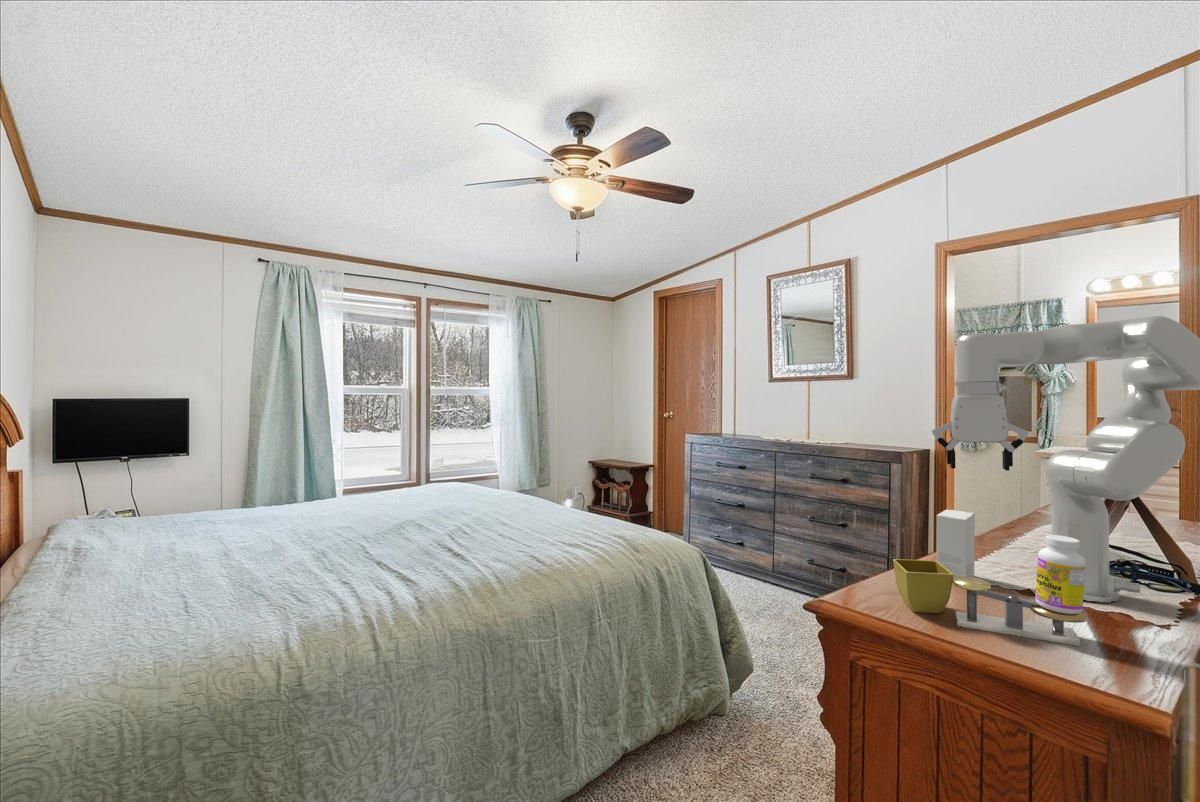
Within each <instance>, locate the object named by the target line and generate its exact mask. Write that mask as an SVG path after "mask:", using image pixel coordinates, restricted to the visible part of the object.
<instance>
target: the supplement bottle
mask: <svg viewBox="0 0 1200 802" xmlns="http://www.w3.org/2000/svg"><path fill="white" fill-rule="evenodd" d="M1045 545H1046V547H1044V548H1041V549H1040V550H1039V551H1038V553H1037V566H1036V583H1035V597H1034V598H1035V599H1034V601H1036V603H1037V604H1038V605H1040V606H1042V607H1044V608H1046V609H1048V610H1051V611H1055V612H1059V613H1064V614H1079V613H1081V612H1082V610H1083V609H1084V608H1083V607H1084V601H1083V597H1084V582H1085V567H1086V561H1085V559H1084V557H1083V556H1081V555H1080V554H1078V549H1079V548H1080V541H1079V540H1077V539H1074V538H1071V537H1066V536H1060V535H1052V534H1048V535H1046V536H1045ZM1083 611H1084V610H1083Z"/></svg>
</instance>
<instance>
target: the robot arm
mask: <svg viewBox="0 0 1200 802" xmlns="http://www.w3.org/2000/svg"><path fill="white" fill-rule="evenodd" d="M1124 359H1125V360H1126V359H1129V360H1127V361H1126V363H1125V364H1124V366H1123V368H1122V371H1121V372H1122V373H1121V375H1122V376H1121V378H1122V383H1123V388H1124V389H1123V390H1124V399H1123V400H1122V402H1121V403H1120V404H1119V405H1118V407H1117V408H1116V409H1115V410H1113V411H1112V412H1111V413H1110V414H1109V415H1108V416H1106V417H1105V418H1104V419H1103V420H1102V421H1100V422H1099V423H1098V424H1097V425H1096V426H1095V427H1094V428H1093V429H1092V430H1091V431H1090V432H1089V433H1088V434H1087V437H1086V440H1085V447H1086V449H1087V450H1083V449H1064V450H1060V451H1056V453H1054V454H1052V455H1051V456H1050V457H1049V458H1048V460H1047V461H1046V464H1045V478H1046V482H1047V485H1048V488H1049V494H1050V502H1051V503H1050V504H1051V535H1060V536H1066V537H1071V538H1074V539H1077V540H1079V541H1080V548H1079V549H1078V554H1080V555H1081V556H1083V557H1084V559H1085V561H1086V567H1085V582H1084V597H1083V600H1087V601H1086V602H1090V601H1101V602H1100V603H1112V602H1111V601H1115V602H1118V601H1119V600H1120V592H1121V591H1125V592H1126V591H1127V592H1131V593H1138V594H1139V593H1141V584H1139V583H1138V582H1137V583H1136V582H1129V581H1128V580H1127V579H1116V578H1114V577H1113V576H1112V575H1111V574H1110V515H1109V512H1108V508H1107V507H1106V504H1105V502H1104V500H1103V499H1107V500H1112V501H1124V502H1125V501H1126V502H1127V501H1131V500H1133V499H1136V498H1138V497H1139V496H1141V495H1143V494H1144V493H1145V492H1147V491H1148V490H1149V489H1150V488H1151V487H1152V486H1154V485H1155V484H1156V483H1157V482H1158V481H1160V480H1161V479H1162V478H1163V477H1164V476H1165V475H1166V474H1167V473H1168V472H1169V471H1171V469H1173V468H1174V467H1175V466H1176V465H1177V464H1178V463H1179V462H1180V461H1181V459H1182V457H1183V455H1184V452H1185V449H1186V439H1185V436H1184V434H1183V432H1182V430H1180V429H1179V428H1178V427H1177V426H1176V425H1174V424H1171V423H1170V420H1171V419H1172V410H1171V408H1170V405H1169V404H1168V401H1167V399H1166V395H1165V392H1164V391H1198V390H1200V337H1199V336H1197V335H1196V334H1195V333H1194V332H1192V331H1191V330H1190V329H1189V328H1187V327H1186V326H1184V325H1182V324H1181V323H1180V322H1178V321H1177V320H1174V319H1172V318H1169V317H1167V316H1162V315H1153V316H1146V317H1138V318H1131V319H1130V318H1129V319H1122V320H1114V321H1113V320H1112V321H1111V320H1110V321H1103V322H1102V321H1101V322H1092V323H1091V322H1090V323H1080V324H1078V323H1077V324H1065V325H1059V326H1053V327H1049V328H1044V329H1039V330H1032V331H1027V330H1026V331H1024V330H1022V331H1021V330H1018V331H1011V332H1003V333H996V334H995V333H989V332H981V333H979V332H977V333H968V334H963V335H961V336H959V337H958V338H957V340H956V379H957V381H956V391H957V392H956V396H953V398H952V401H951V407H950V419H949V422H948V423H946V424H944V425H941V426H939V427H936V428H934V429H932V430H931V432H932V435H933V436H934V438H935V440H936V442H938V444H940V445H941V446H942V447H943V448H944V449H945V450H946V464H947V465H949V467H950V468H951V470H952V469H956V466H957V465H956V450H955V449H954V448H955V447H956V446H957V445H958V444H959V443H980V444H981V443H984V444H987V443H990V444H991V443H993V444H995V443H998V444H999V445H1001V446H1002V448H1003V450H1002V458H1001V459H1002V469H1003V470H1004V471H1006V472H1007V471H1009V472H1010V467H1013V465H1014V463H1013V462H1014V461H1013V459H1014V458H1013V457H1014V456H1013V453H1014V452H1015V450H1017V449H1018V448H1019V447H1020V446H1021V445H1023V443H1024V441H1026V439H1027V437H1028V435H1029V431H1028V430H1026V429H1023V428H1021V427H1019V426H1016V425H1014V424H1012V423H1009V422H1008V418H1007V417H1008V416H1007V408H1006V403H1005V400H1004V397H1003V396H1000V394H1001V393H1002V392H1004V391H1005V392H1006V391H1008V388H1009V387H1008V384H1003V383H1001V381H1000V368H1012V367H1014V368H1015V367H1025V366H1029V365H1031V366H1032V365H1066V364H1078V363H1080V364H1081V363H1091V362H1101V361H1113V360H1124ZM947 431H949V434H950V435H949V436H950V438H951V439H950V440H949V441H947V440H945V439H944V437H943V436H942V433H944V432H947ZM1009 431H1011V432H1013V433H1016V434H1017V436H1016V437H1015V438H1014V440H1012V442H1009V441H1008V438H1009ZM1118 599H1119V600H1118Z"/></svg>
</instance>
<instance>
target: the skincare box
mask: <svg viewBox="0 0 1200 802" xmlns="http://www.w3.org/2000/svg"><path fill="white" fill-rule="evenodd" d="M975 515H976V514H975V512H969V511H961V510H955V509H948V508H947V509H945V510H942V511H941V512H939V513H938V514H936V561H937V562H939V563H940V564H941V565H943V566H944V567H945V568H946V569H948V570H949V571H950V572H952V573H953V578H955V577H973V578H974V576H975V528H976V527H975V522H976V520H975V517H976V516H975Z"/></svg>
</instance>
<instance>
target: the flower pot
mask: <svg viewBox="0 0 1200 802" xmlns="http://www.w3.org/2000/svg"><path fill="white" fill-rule="evenodd" d="M892 560H893V563H892V564H893V569H894V577H895V585H896V587H897V590H898V592H899V595H900V596H901V598H902V600H903V603H905V604H906V606H907V607H908V608H909V609H910V610H911V612H914V613H925V614H926V613H927V614H928V613H929V614H941V612H943V611H944V609H945V608H946V606H947V605H948V603H949V601H950V598H951V593H952V586H953V573H952V572H950V571H949V570H948V569H946V568H945V567H944V566H943V565H941V564H940V563H939V562H937V560H930V559H929V560H927V559H924V560H923V559H906V558H905V559H904V558H903V559H902V558H901V559H899V558H894V559H892Z"/></svg>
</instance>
